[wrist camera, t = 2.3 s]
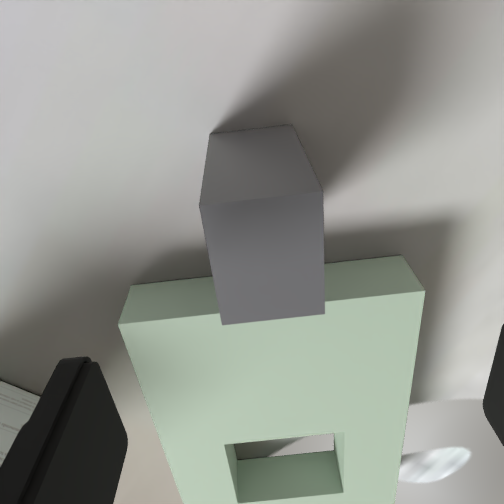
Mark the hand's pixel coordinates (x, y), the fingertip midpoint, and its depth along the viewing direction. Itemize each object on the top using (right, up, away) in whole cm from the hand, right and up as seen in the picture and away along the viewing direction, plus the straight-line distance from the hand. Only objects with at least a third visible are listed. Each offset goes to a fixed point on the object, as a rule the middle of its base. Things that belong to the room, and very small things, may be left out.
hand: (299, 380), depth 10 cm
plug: (-1, +6, +9) cm, 11 cm away
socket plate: (+1, -6, +17) cm, 18 cm away
